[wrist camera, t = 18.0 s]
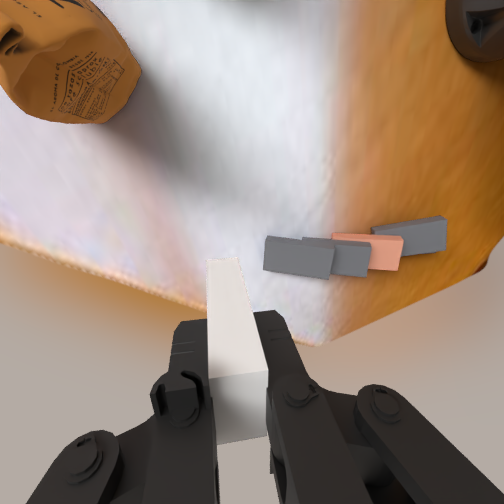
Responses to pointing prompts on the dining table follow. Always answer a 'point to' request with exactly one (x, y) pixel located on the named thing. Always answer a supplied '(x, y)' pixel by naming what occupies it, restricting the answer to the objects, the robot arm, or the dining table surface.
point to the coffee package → (64, 61)
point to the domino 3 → (378, 249)
